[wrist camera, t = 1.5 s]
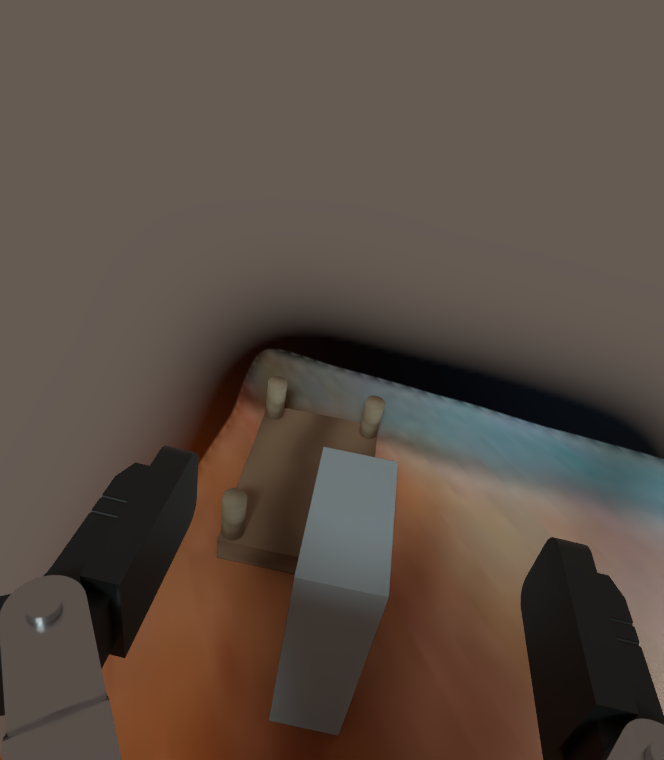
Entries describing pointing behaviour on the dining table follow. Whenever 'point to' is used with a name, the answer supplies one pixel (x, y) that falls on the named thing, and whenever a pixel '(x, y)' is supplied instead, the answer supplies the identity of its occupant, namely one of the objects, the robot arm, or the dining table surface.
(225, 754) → the dining table surface
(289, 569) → the peg stand
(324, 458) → the rectangular block
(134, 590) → the robot arm
